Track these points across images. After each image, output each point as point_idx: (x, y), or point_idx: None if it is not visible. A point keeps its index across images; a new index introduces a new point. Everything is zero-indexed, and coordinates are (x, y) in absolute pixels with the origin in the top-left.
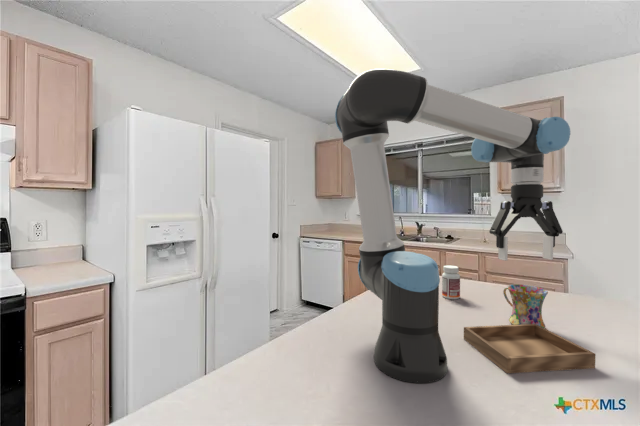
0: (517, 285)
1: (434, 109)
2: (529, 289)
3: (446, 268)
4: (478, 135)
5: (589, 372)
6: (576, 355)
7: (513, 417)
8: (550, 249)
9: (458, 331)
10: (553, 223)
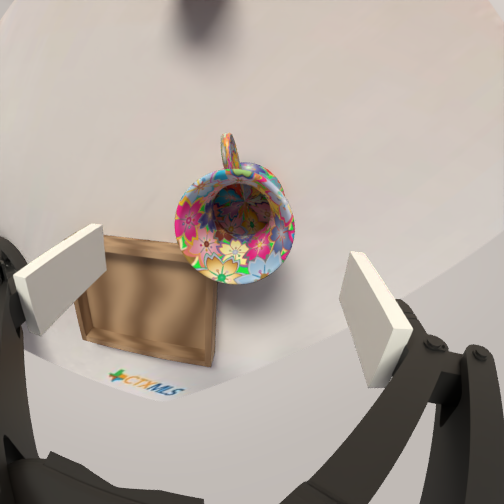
0: (244, 175)
1: None
2: (275, 199)
3: None
4: None
5: None
6: (179, 361)
7: (70, 369)
8: (350, 329)
9: (81, 199)
10: (437, 453)
